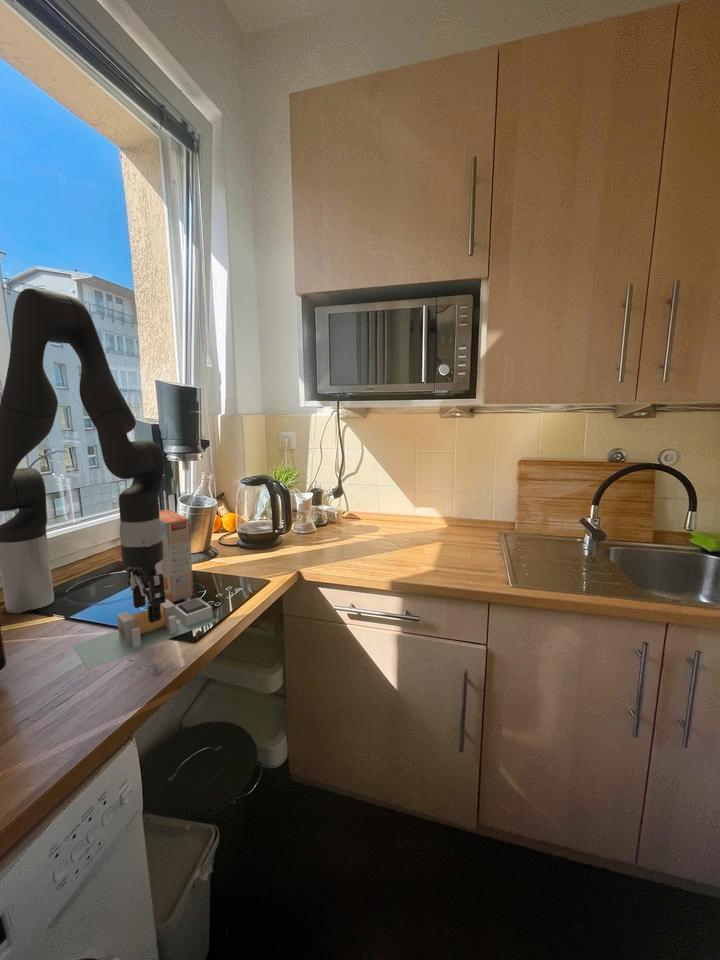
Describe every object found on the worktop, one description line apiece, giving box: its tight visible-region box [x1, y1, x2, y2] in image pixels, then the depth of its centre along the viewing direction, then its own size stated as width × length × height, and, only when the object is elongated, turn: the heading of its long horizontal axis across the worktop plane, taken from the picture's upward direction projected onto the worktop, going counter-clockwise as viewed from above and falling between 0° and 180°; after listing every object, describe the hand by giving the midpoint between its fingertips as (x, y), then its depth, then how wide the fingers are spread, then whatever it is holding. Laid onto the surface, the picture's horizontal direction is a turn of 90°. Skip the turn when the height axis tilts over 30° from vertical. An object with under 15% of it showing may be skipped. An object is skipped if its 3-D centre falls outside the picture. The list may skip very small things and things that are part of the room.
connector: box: [179, 598, 205, 614], centre depth 94 cm, size 4×4×3 cm
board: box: [72, 597, 218, 670], centre depth 87 cm, size 11×25×4 cm, turn 136°
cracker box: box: [155, 509, 194, 603], centre depth 106 cm, size 14×6×21 cm, turn 44°
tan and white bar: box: [116, 598, 177, 646], centre depth 87 cm, size 4×10×5 cm, turn 136°
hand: (147, 613), depth 87 cm, fingers open, 8 cm apart
